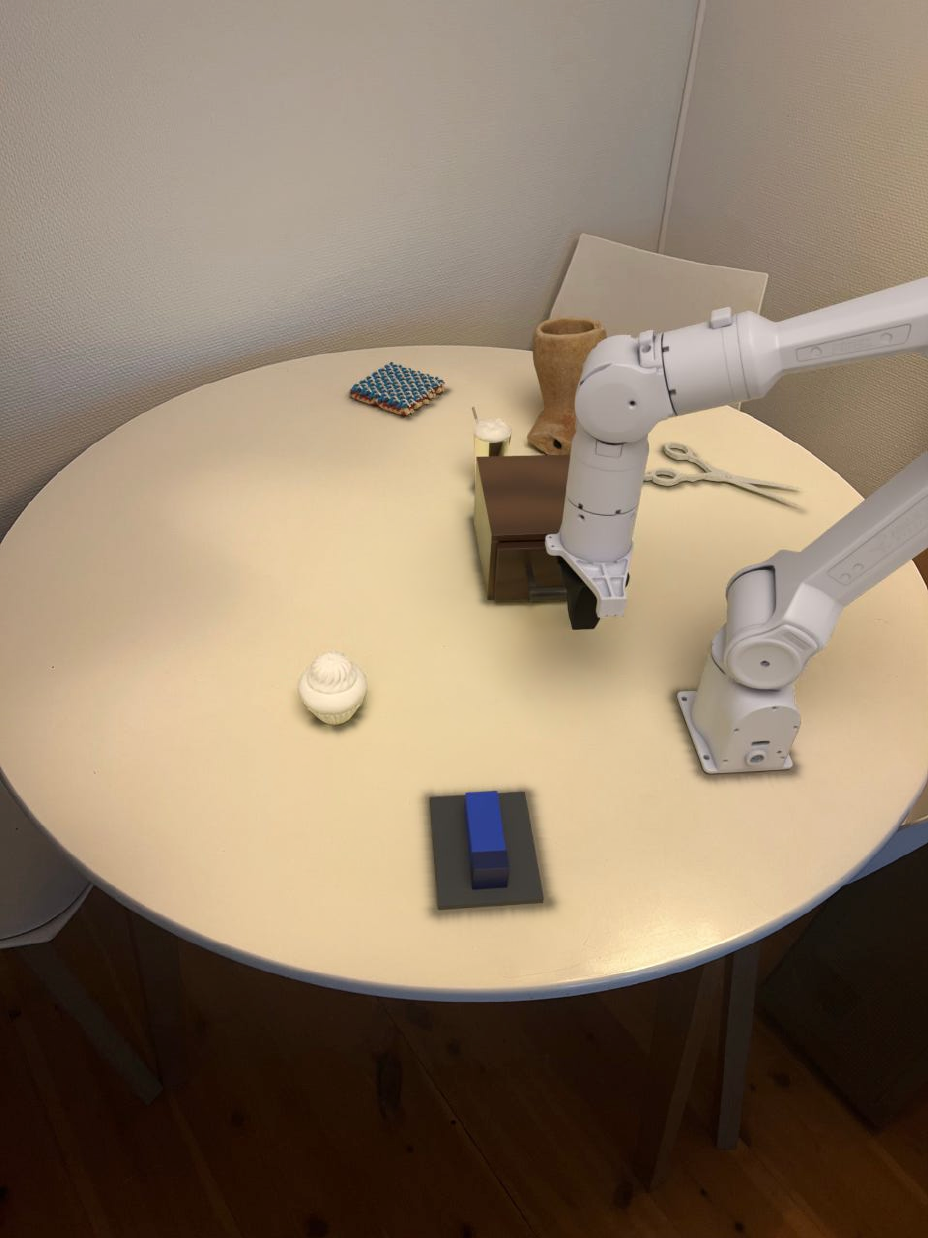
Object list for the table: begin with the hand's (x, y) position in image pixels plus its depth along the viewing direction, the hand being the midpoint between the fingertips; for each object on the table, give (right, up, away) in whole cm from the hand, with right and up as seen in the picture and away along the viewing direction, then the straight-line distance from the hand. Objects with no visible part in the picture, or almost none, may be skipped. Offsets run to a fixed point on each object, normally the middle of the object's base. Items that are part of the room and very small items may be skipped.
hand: (582, 624), depth 77 cm
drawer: (-2, +5, +18) cm, 19 cm away
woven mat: (-20, +32, +49) cm, 62 cm away
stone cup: (+3, +25, +42) cm, 49 cm away
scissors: (+22, +18, +34) cm, 45 cm away
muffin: (-22, -8, +4) cm, 24 cm away
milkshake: (-8, +17, +32) cm, 37 cm away
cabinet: (-2, +7, +22) cm, 23 cm away
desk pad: (-9, -18, -7) cm, 21 cm away
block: (-9, -18, -7) cm, 21 cm away
